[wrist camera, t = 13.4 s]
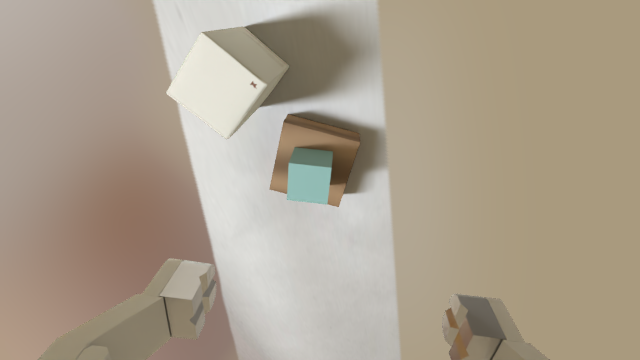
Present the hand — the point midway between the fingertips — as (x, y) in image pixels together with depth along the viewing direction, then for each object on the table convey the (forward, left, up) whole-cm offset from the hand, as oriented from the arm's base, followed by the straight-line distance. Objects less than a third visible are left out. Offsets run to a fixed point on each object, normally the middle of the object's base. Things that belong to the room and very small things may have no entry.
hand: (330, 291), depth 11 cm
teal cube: (+10, -3, -31) cm, 32 cm away
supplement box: (-1, -12, -35) cm, 37 cm away
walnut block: (+10, -3, -35) cm, 36 cm away
